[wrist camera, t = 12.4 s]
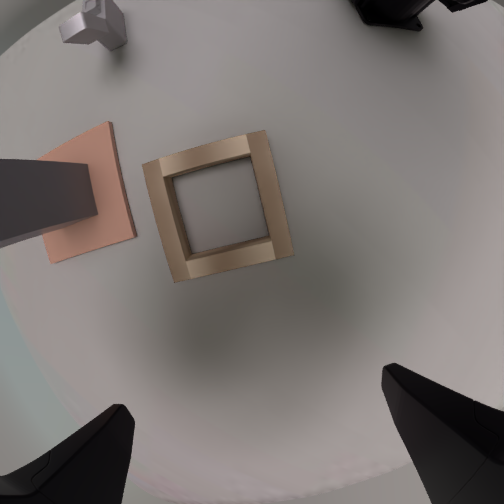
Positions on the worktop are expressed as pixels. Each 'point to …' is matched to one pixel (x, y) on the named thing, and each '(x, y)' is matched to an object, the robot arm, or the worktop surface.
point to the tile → (105, 193)
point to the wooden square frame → (171, 221)
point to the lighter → (96, 25)
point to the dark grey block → (42, 197)
